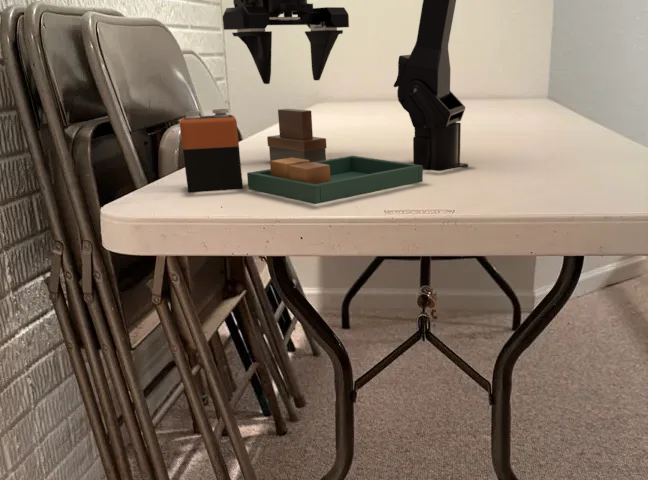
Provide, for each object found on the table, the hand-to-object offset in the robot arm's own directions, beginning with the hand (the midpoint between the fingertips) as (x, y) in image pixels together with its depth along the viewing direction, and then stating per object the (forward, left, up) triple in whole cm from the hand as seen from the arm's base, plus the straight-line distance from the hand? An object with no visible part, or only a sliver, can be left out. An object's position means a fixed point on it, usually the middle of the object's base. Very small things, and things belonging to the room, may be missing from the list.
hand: (292, 82), depth 106 cm
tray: (+9, +20, -12) cm, 25 cm away
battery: (+20, +9, -12) cm, 25 cm away
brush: (0, 0, -12) cm, 12 cm away
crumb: (+15, +23, -12) cm, 29 cm away
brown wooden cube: (+16, +18, -10) cm, 26 cm away
